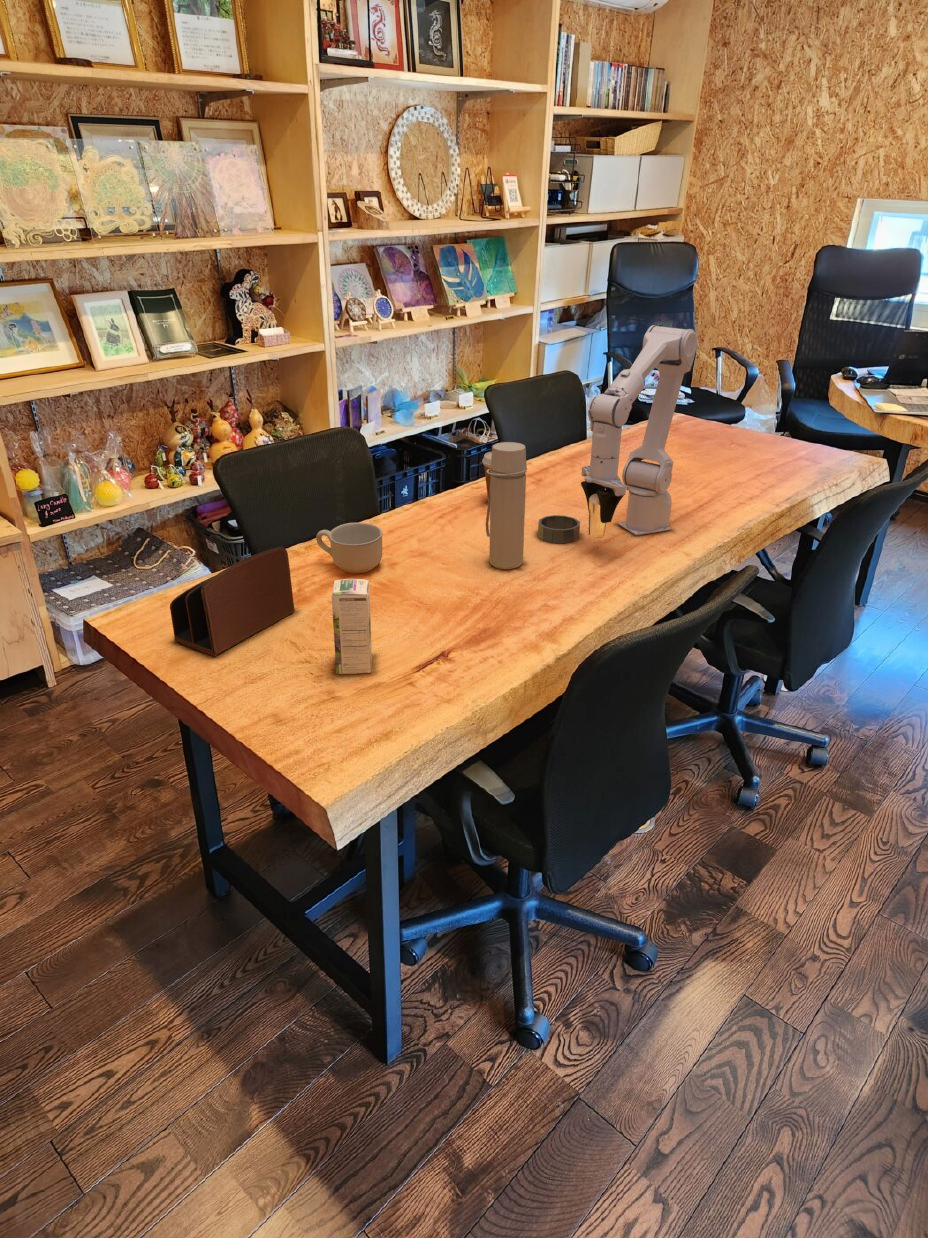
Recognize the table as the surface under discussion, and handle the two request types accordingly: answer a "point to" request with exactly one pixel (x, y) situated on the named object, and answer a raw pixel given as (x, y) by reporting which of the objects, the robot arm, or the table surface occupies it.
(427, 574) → the table surface
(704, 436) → the table surface
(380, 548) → the teacup
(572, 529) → the brown hollow ring
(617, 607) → the table surface
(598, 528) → the milkshake
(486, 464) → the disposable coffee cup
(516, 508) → the water bottle
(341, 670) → the syrup box
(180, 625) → the letter holder
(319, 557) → the table surface
